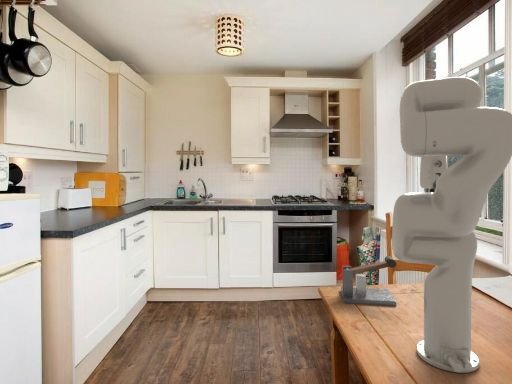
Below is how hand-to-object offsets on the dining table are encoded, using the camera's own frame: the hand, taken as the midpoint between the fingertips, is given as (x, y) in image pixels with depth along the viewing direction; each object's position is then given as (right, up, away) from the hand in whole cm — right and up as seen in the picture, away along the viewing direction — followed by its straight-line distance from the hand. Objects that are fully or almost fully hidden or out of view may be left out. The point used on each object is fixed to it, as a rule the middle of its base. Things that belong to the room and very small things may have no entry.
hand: (431, 211), depth 97 cm
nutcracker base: (-15, -32, +15) cm, 38 cm away
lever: (-14, -22, +15) cm, 30 cm away
